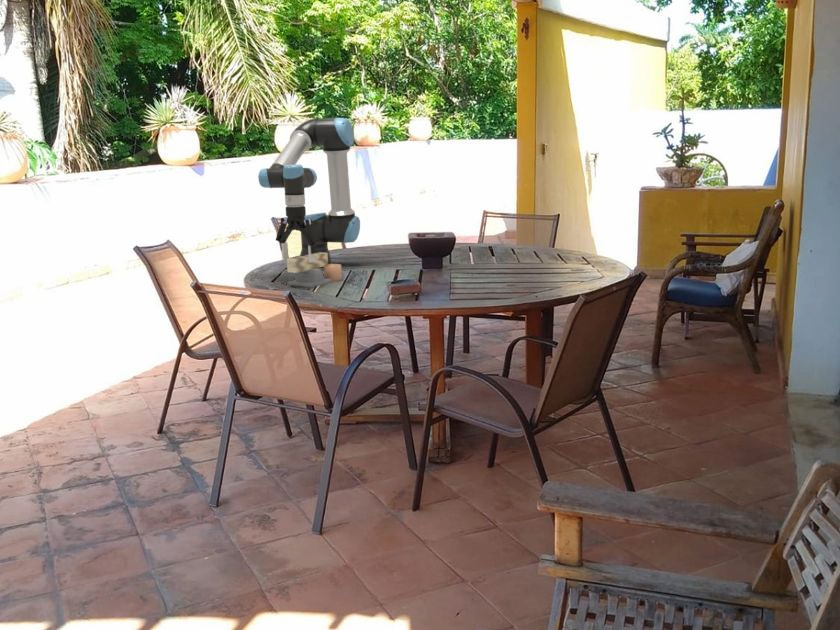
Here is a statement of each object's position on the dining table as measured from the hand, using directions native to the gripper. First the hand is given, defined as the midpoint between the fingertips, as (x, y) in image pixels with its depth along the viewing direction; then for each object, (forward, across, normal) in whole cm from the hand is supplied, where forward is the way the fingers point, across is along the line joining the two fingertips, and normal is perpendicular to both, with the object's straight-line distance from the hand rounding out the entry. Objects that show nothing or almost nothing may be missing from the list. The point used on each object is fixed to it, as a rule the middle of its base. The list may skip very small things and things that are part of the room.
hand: (298, 260), depth 314 cm
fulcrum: (+10, 0, +5) cm, 11 cm away
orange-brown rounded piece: (+10, +3, +16) cm, 20 cm away
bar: (+4, 0, +5) cm, 7 cm away
